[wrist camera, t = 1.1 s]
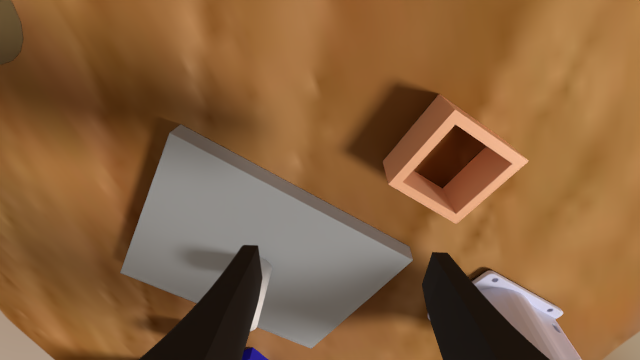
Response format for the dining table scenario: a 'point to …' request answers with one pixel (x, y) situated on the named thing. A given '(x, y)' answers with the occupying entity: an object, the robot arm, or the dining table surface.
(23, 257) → the dining table surface
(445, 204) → the collar
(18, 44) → the cork
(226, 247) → the post board
